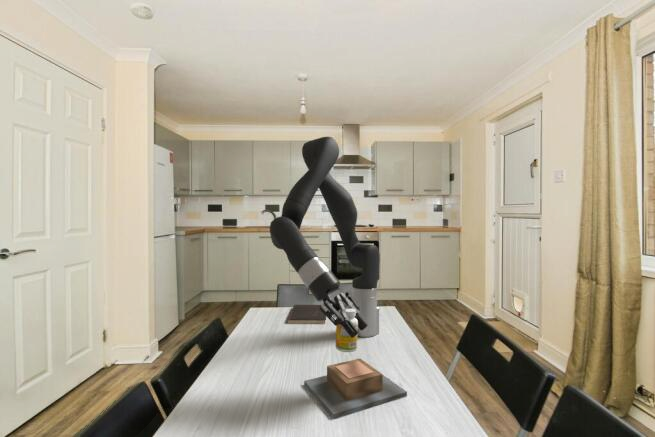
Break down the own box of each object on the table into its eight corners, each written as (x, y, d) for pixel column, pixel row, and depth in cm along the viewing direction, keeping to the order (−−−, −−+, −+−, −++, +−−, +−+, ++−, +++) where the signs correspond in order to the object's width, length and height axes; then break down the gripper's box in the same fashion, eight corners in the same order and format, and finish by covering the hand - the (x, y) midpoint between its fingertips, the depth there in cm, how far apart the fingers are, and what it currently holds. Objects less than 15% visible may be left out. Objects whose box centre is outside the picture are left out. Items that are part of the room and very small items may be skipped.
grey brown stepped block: (369, 368, 92) (369, 350, 92) (406, 395, 78) (406, 374, 78) (304, 384, 83) (304, 364, 83) (333, 418, 69) (333, 394, 69)
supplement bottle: (337, 344, 85) (339, 306, 85) (358, 346, 83) (359, 308, 84) (333, 351, 79) (335, 311, 80) (355, 353, 78) (357, 313, 79)
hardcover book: (326, 309, 155) (326, 304, 155) (326, 325, 132) (326, 319, 132) (293, 309, 155) (293, 304, 155) (286, 324, 132) (286, 319, 132)
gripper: (313, 273, 78) (359, 331, 72) (339, 265, 91) (380, 315, 85) (295, 292, 80) (337, 350, 75) (322, 283, 93) (361, 332, 88)
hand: (360, 331), depth 80 cm, fingers closed on supplement bottle, 5 cm apart
